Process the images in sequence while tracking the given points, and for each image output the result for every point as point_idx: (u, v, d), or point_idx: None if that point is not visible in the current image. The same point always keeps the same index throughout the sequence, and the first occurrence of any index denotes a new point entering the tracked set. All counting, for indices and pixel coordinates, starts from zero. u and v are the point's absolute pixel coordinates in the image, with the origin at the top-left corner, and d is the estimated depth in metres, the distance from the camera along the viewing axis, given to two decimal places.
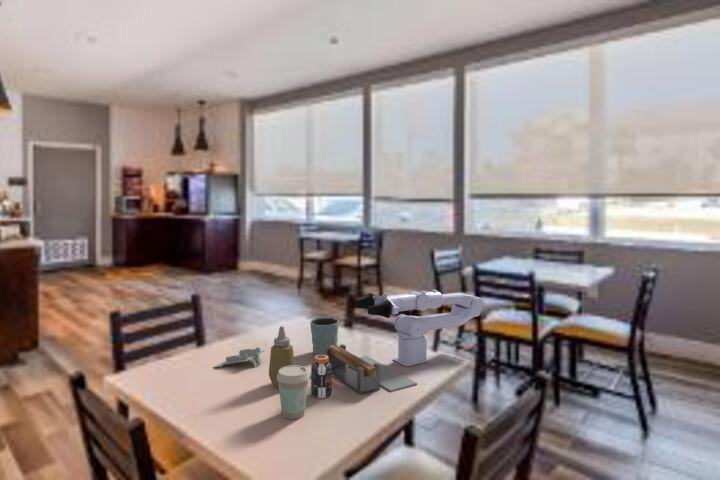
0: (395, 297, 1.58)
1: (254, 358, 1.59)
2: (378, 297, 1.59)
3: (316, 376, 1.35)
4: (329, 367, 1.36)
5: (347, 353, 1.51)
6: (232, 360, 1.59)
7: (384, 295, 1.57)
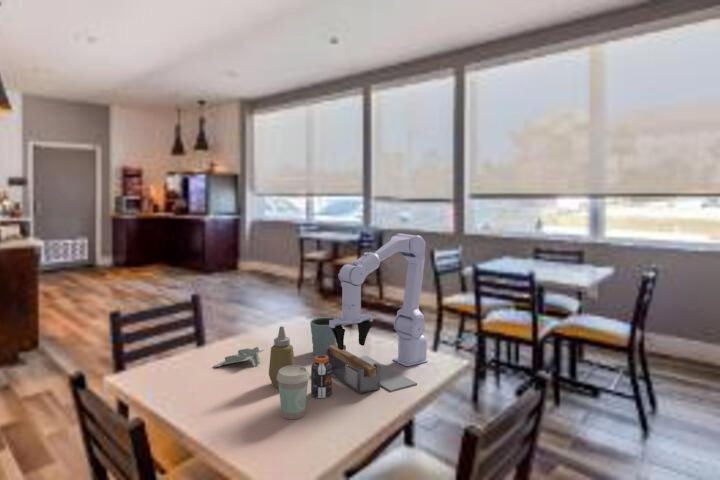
0: (359, 309, 1.46)
1: (253, 358, 1.60)
2: None
3: (316, 376, 1.35)
4: (329, 367, 1.36)
5: (347, 353, 1.51)
6: (231, 360, 1.60)
7: None
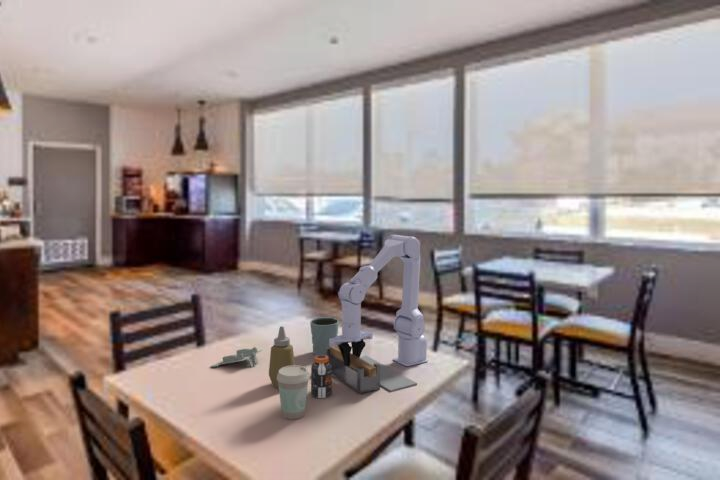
0: (359, 327, 1.46)
1: (250, 358, 1.59)
2: None
3: (316, 376, 1.35)
4: (329, 367, 1.36)
5: None
6: (229, 360, 1.60)
7: None
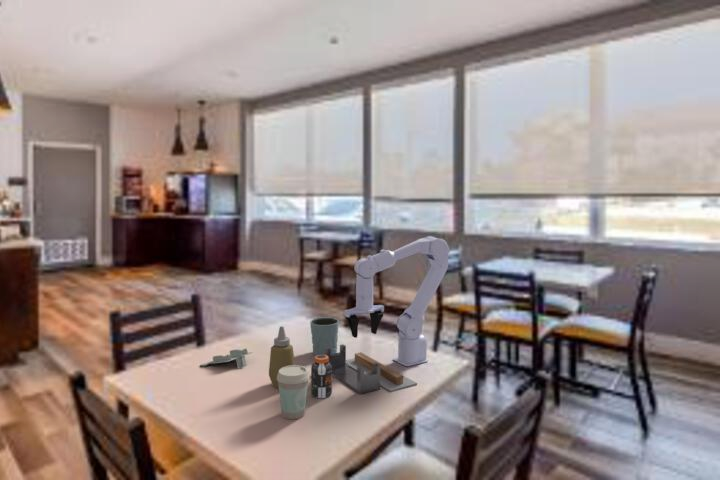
0: (372, 300, 1.58)
1: (238, 359, 1.58)
2: None
3: (316, 376, 1.35)
4: (329, 367, 1.36)
5: (373, 361, 1.56)
6: (217, 360, 1.60)
7: None
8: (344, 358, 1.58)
